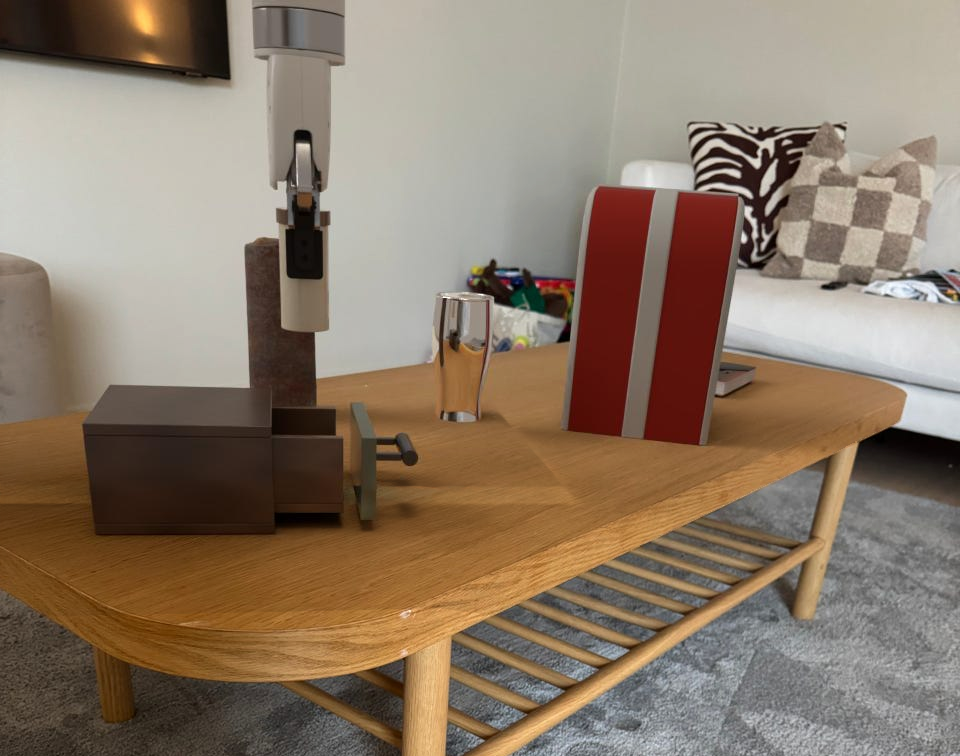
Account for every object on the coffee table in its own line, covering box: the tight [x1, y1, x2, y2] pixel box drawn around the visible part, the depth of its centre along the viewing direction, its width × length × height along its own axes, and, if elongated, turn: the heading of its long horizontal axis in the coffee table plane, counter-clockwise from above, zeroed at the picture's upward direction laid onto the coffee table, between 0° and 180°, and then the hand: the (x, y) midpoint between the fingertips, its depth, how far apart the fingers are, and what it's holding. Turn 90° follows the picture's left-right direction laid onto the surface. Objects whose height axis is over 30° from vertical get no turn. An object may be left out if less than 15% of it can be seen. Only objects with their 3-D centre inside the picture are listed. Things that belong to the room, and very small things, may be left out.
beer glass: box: [431, 291, 495, 423], centre depth 109 cm, size 7×7×15 cm
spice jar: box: [275, 206, 332, 333], centre depth 87 cm, size 5×5×10 cm
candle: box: [243, 236, 318, 406], centre depth 104 cm, size 8×7×20 cm
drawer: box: [272, 401, 419, 521], centre depth 83 cm, size 16×13×7 cm
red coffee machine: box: [560, 183, 746, 446], centre depth 116 cm, size 16×18×27 cm
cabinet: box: [81, 384, 276, 536], centre depth 81 cm, size 14×14×9 cm
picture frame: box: [715, 361, 757, 398], centre depth 150 cm, size 16×2×22 cm
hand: (304, 273), depth 87 cm, fingers closed on spice jar, 4 cm apart
